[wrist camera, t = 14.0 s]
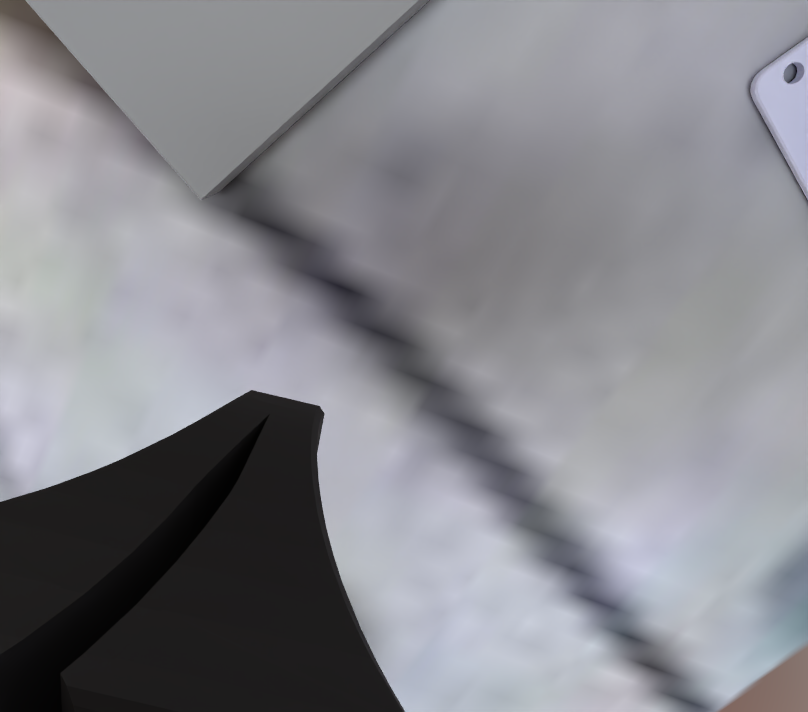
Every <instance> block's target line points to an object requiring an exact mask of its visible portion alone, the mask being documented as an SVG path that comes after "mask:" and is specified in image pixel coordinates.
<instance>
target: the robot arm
mask: <svg viewBox="0 0 808 712" xmlns="http://www.w3.org/2000/svg"><path fill="white" fill-rule="evenodd" d="M791 63H793V64H794V65H795V66H796V67H797V74H796V77H795V78H794V79H793V80H792V81H791V82H790V83H787V82H785V81H784V78H783V73H784V70H785V68H786V67H787V66H788V65H789V64H791ZM750 92H751V96H752V99H753V101H754V103H755V104H756V106H757V108H758V110H759V112H760V114H761V115H762V117H763V119H764V121H765V123H766V125H767V126H768V128H769V130H770V132H771V134H772V135H773V137H774V139H775V141H776V143H777V145H778V146H779V148H780V150H781V152H782V154H783V156H784V157H785V159H786V161H787V163H788V165H789V167H790V168H791V170H792V172H793V174H794V176H795V178H796V179H797V181H798V183H799V185H800V187H801V189H802V190H803V192H804V194H805V196H806V198H807V200H808V37H807V38H806V39H804V40H803V41H801V42H800V43H799V44H797V45H796V46H794V47H793V48H792V49H790V50H789V51H787V52H786V53H785V54H783V55H782V56H780V57H779V58H777V59H776V60H775V61H773V62H772V63H770V64H769V65H768V66H766V67H765V68H763V69H762V70H761V71H760V72H759V73H758V74H757V75H756V76H755V77H754V79H753V81H752V83H751V89H750ZM323 418H324V412H323V411H322V409H321V408H320V406H317V405H312V404H308V403H304V402H300V401H295V400H291V399H287V398H283V397H278V396H274V395H270V394H266V393H261V392H257V391H253V390H251V391H249V392H247V393H245V394H244V395H242V396H240V397H238V398H237V399H235V400H233V401H231V402H230V403H228V404H226V405H224V406H223V407H221V408H219V409H217V410H216V411H214V412H212V413H211V414H209V415H207V416H205V417H204V418H202V419H200V420H198V421H197V422H195V423H193V424H191V425H189V426H187V427H186V428H184V429H182V430H180V431H178V432H176V433H175V434H173V435H171V436H169V437H167V438H165V439H163V440H160V441H158V442H156V443H154V444H152V445H150V446H148V447H146V448H144V449H142V450H140V451H138V452H136V453H134V454H131V455H129V456H127V457H125V458H123V459H121V460H119V461H116V462H114V463H112V464H109V465H107V466H104V467H102V468H100V469H97V470H95V471H92V472H90V473H87V474H84V475H81V476H79V477H76V478H73V479H71V480H68V481H65V482H63V483H60V484H57V485H54V486H51V487H48V488H46V489H42V490H39V491H36V492H32V493H29V494H26V495H22V496H19V497H16V498H12V499H9V500H6V501H2V502H0V712H405V711H404V709H403V707H402V706H401V704H400V702H399V701H398V699H397V697H396V696H395V694H394V692H393V691H392V689H391V687H390V685H389V683H388V681H387V680H386V678H385V676H384V674H383V672H382V670H381V669H380V667H379V665H378V663H377V661H376V659H375V657H374V655H373V653H372V651H371V649H370V647H369V645H368V643H367V641H366V638H365V636H364V634H363V632H362V630H361V628H360V626H359V623H358V621H357V618H356V616H355V613H354V611H353V608H352V606H351V603H350V601H349V598H348V596H347V593H346V591H345V588H344V586H343V583H342V581H341V578H340V575H339V571H338V568H337V565H336V562H335V559H334V556H333V552H332V548H331V545H330V541H329V537H328V533H327V529H326V524H325V519H324V514H323V509H322V502H321V496H320V489H319V481H318V466H317V451H318V445H319V440H320V435H321V429H322V424H323Z"/></svg>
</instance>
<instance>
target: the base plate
mask: <svg viewBox="0 0 808 712" xmlns="http://www.w3.org/2000/svg"><path fill="white" fill-rule="evenodd" d="M428 1H430V0H26V2H27V3H28V4H29V5H30V6H31V7H32V8H33V10H34V11H35V12H36V13H37V14H38V15H39V16H40V18H41V19H42V20H43V21H44V22H45V23H46V24H47V26H48V27H49V28H50V29H51V30H52V31H53V32H54V34H55V35H56V36H57V37H58V38H59V39H60V40H61V42H62V43H63V44H64V45H65V46H66V47H67V48H68V50H69V51H70V52H71V53H72V54H73V55H74V56H75V58H76V59H77V60H78V61H79V62H80V63H81V64H82V65H83V67H84V68H85V69H86V70H87V71H88V72H89V73H90V75H91V76H92V77H93V78H94V79H95V80H96V81H97V83H98V84H99V85H100V86H101V87H102V88H103V89H104V91H105V92H106V93H107V94H108V95H109V96H110V97H111V99H112V100H113V101H114V102H115V103H116V104H117V105H118V107H119V108H120V109H121V110H122V111H123V112H124V113H125V115H126V116H127V117H128V118H129V119H130V120H131V121H132V123H133V124H134V125H135V126H136V127H137V128H138V129H139V131H140V132H141V133H142V134H143V135H144V136H145V137H146V139H147V140H148V141H149V142H150V143H151V144H152V145H153V147H154V148H155V149H156V150H157V151H158V152H159V153H160V155H161V156H162V157H163V158H164V159H165V160H166V161H167V163H168V164H169V165H170V166H171V167H172V168H173V169H174V171H175V172H176V173H177V174H178V175H179V176H180V177H181V179H182V180H183V181H184V182H185V183H186V184H187V185H188V187H189V188H190V189H191V190H192V191H193V192H194V193H195V194H196V196H197V197H198V198H199V199H200V200H202V199H204V198H207V197H209V196H211V195H214V194H216V193H218V192H220V191H221V190H222V189H223V188H224V187H225V186H226V185H227V184H228V183H230V182H231V181H232V180H233V179H234V178H235V177H236V176H237V175H238V174H239V173H241V172H242V171H243V170H244V169H245V168H246V167H247V166H248V165H249V164H250V163H251V162H253V161H254V160H255V159H256V158H257V157H258V156H259V155H260V154H261V153H262V152H264V151H265V150H266V149H267V148H268V147H269V146H270V145H271V144H272V143H273V142H275V141H276V140H277V139H278V138H279V137H280V136H281V135H282V134H283V133H284V132H286V131H287V130H288V129H289V128H290V127H291V126H292V125H293V124H294V123H295V122H297V121H298V120H299V119H300V118H301V117H302V116H303V115H304V114H305V113H306V112H308V111H309V110H310V109H311V108H312V107H313V106H314V105H315V104H316V103H317V102H319V101H320V100H321V99H322V98H323V97H324V96H325V95H326V94H327V93H328V92H330V91H331V90H332V89H333V88H334V87H335V86H336V85H337V84H338V83H339V82H341V81H342V80H343V79H344V78H345V77H346V76H347V75H348V74H349V73H350V72H351V71H353V70H354V69H355V68H356V67H357V66H358V65H359V64H360V63H361V62H362V61H364V60H365V59H366V58H367V57H368V56H369V55H370V54H371V53H372V52H373V51H375V50H376V49H377V48H378V47H379V46H380V45H381V44H382V43H383V42H384V41H386V40H387V39H388V38H389V37H390V36H391V35H392V34H393V33H394V32H395V31H397V30H398V29H399V28H400V27H401V26H402V25H403V24H404V23H405V22H406V21H408V20H409V19H410V18H411V17H412V16H413V15H414V14H415V13H416V12H417V11H419V10H420V9H421V8H422V7H423V6H424V5H425V4H426V3H427V2H428Z"/></svg>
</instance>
